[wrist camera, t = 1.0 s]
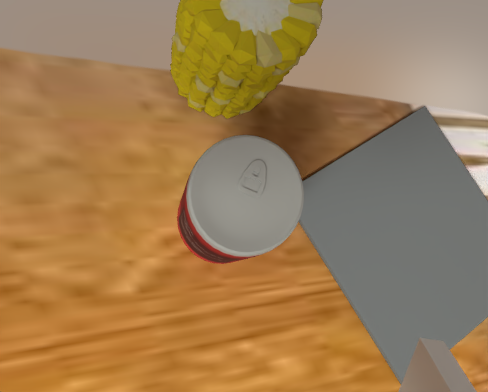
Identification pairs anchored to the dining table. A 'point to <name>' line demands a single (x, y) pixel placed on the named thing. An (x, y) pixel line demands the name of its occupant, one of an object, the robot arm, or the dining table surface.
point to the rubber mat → (403, 237)
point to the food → (238, 49)
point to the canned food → (240, 200)
